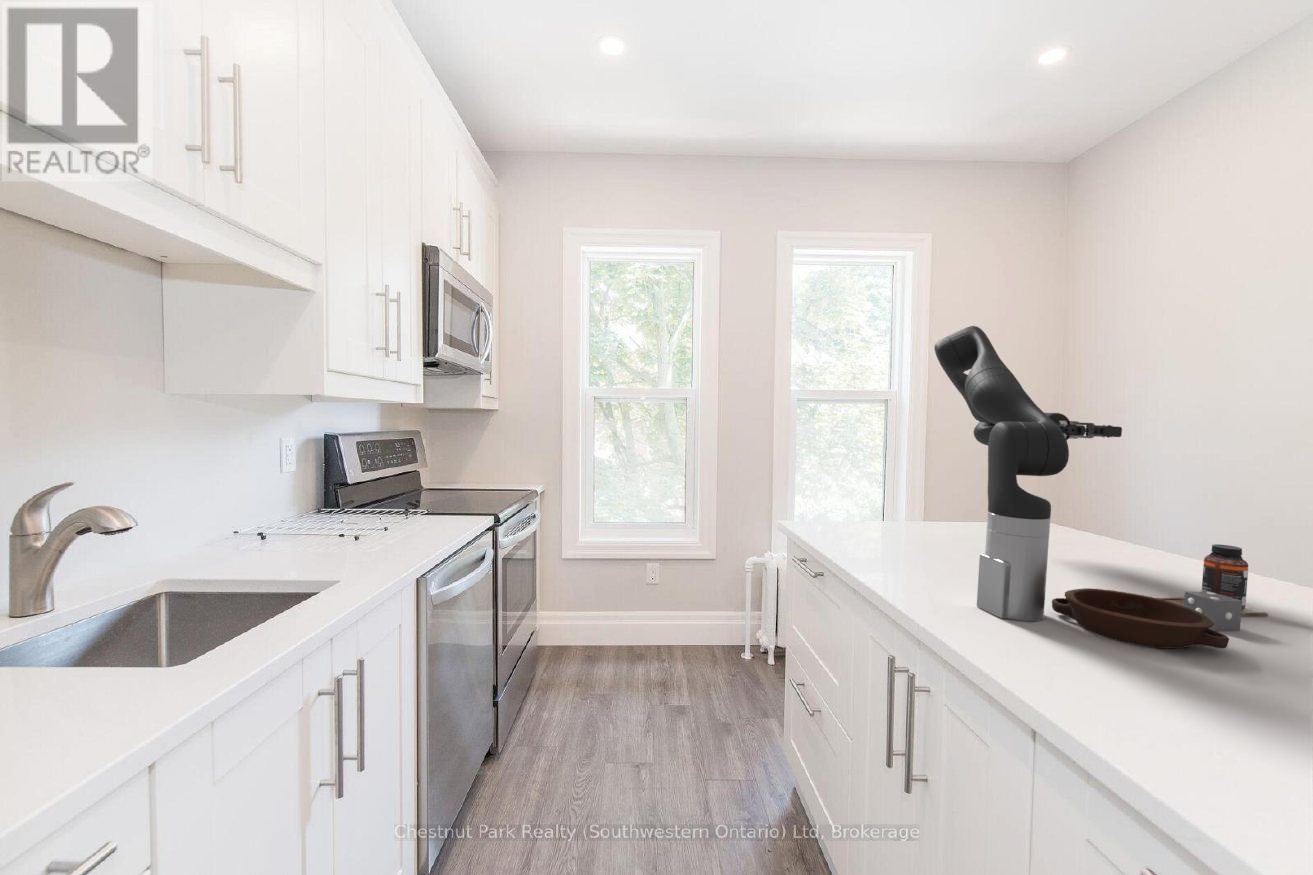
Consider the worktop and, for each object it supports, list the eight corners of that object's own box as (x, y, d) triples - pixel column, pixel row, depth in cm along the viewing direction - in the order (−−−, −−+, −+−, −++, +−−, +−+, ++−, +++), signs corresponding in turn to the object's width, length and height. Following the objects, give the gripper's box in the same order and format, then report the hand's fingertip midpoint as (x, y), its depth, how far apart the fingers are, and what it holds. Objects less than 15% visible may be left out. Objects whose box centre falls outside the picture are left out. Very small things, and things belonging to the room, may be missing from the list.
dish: (1227, 674, 79) (1230, 639, 79) (1038, 628, 95) (1040, 598, 94) (1227, 641, 91) (1230, 610, 91) (1060, 605, 107) (1062, 578, 107)
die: (1214, 631, 95) (1216, 600, 95) (1181, 620, 100) (1184, 590, 100) (1240, 630, 96) (1243, 600, 95) (1207, 619, 101) (1209, 590, 101)
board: (1166, 618, 101) (1166, 615, 101) (1118, 601, 110) (1119, 598, 110) (1267, 616, 104) (1268, 613, 104) (1213, 599, 113) (1213, 597, 113)
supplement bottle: (1255, 612, 105) (1260, 550, 104) (1221, 611, 105) (1226, 549, 104) (1223, 601, 111) (1228, 543, 110) (1191, 600, 111) (1196, 542, 110)
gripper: (1015, 411, 136) (1072, 412, 120) (1070, 413, 138) (1133, 414, 122) (1013, 443, 136) (1069, 448, 120) (1068, 445, 138) (1131, 450, 122)
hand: (1101, 431), depth 121 cm, fingers open, 8 cm apart
